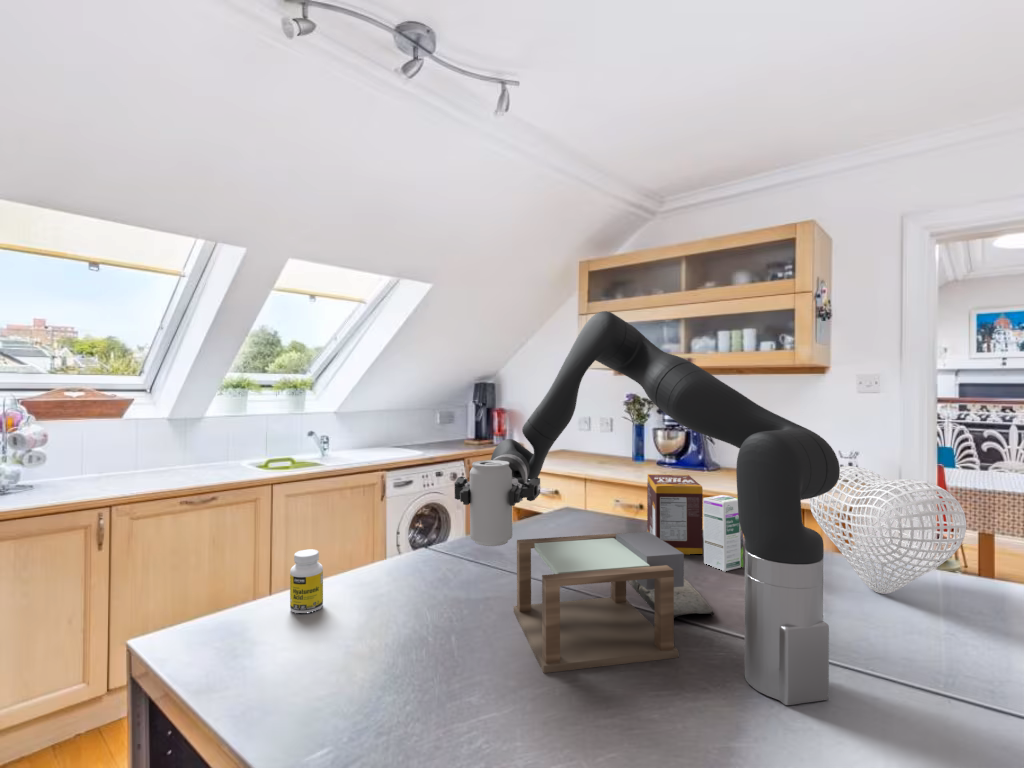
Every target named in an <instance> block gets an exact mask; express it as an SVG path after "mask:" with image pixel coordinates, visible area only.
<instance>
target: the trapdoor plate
mask: <svg viewBox="0 0 1024 768" xmlns="http://www.w3.org/2000/svg"><path fill="white" fill-rule="evenodd" d="M620 533H621V532H620ZM534 551H535V552H536V553H537V554H538V556H539V557H540V558H541V559H542V561H543V562H544V563H545V565H546V566H547V567H548V568H549V570H550V571H551V572H552V574H562V573H575V572H588V571H600V570H613V569H626V568H639V567H651V566H664V565H667V566H669V567H670V568H672V569H673V570H674V587H684V578H685V577H684V576H685V575H684V574H685V567H684V565H685V563H684V562H685V554H684V553H682V552H680V551H679V550H677V549H676V548H674V547H672V546H671V545H669V544H668V543H666V542H664V541H663V540H661V539H660V538H658V537H656V536H655V535H653V534H652V533H650V532H647V531H640V532H636V531H635V532H623V533H621V534H616V539H614V538H606V539H591V540H576V541H561V542H546V543H535V548H534ZM636 581H637V582H638V583H640V584H641V585H642V586H643V587H644V588H645V589H647V590H650V589H654V582H655V578H654V579H642V580H636Z"/></svg>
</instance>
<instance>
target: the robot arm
mask: <svg viewBox="0 0 1024 768" xmlns="http://www.w3.org/2000/svg"><path fill="white" fill-rule="evenodd" d="M595 361H596V362H597V363H600V364H602V365H603V366H605V367H607V368H609V369H610V370H613V371H616V372H618V373H620V374H622V375H624V376H625V377H627V378H628V379H631V380H633V381H634V382H636V383H637V384H638V385H640V387H642V389H643V391H644V392H645V394H646V396H647V398H649V400H650V401H651V402H652V404H654V405H655V406H656V407H657V408H658V409H659V410H661V411H662V412H663V413H664V414H666V415H667V416H668V417H670V418H671V419H672V420H674V421H675V422H677V423H678V424H680V426H681V425H682V426H683V427H685V428H687V429H689V430H691V431H694V432H697V433H699V434H702V435H704V436H707V437H709V438H712V439H714V440H715V439H716V440H718V441H721V442H724V443H726V444H729V445H731V446H733V447H735V448H737V449H738V454H737V457H736V470H735V472H736V474H735V475H736V493H737V495H736V496H737V497H736V498H738V516H739V523H740V527H741V529H742V532H743V539H744V679H745V681H746V682H747V684H748V685H750V686H751V687H752V688H753V689H754V690H756V691H757V692H759V693H760V694H763V695H765V696H767V697H770V698H773V699H775V700H778V701H780V702H781V703H782V704H783V705H785V706H791V705H799V704H806V703H814V702H820V701H827V700H829V698H830V697H829V695H830V694H829V691H830V690H829V687H830V686H829V683H830V682H829V681H830V674H829V673H830V671H829V670H830V669H829V667H830V664H829V663H830V626H829V624H828V623H827V622H825V621H824V557H825V556H824V553H825V552H824V550H825V549H824V540H823V537H822V535H821V534H820V533H819V532H817V531H816V530H814V529H812V528H810V527H807V526H805V525H804V523H803V517H802V504H801V503H802V501H803V500H809V499H810V498H813V497H817V496H819V497H821V495H822V494H823V495H824V493H826V492H828V491H830V490H832V488H833V487H834V486H836V485H837V481H838V480H840V475H839V474H840V467H841V466H840V461H839V459H838V457H837V454H836V453H835V451H834V449H833V448H832V446H831V445H830V444H829V443H828V442H827V440H825V439H824V438H823V437H822V436H820V434H818V433H816V432H814V431H813V430H811V429H808V428H807V427H804V426H802V425H800V424H797V423H796V422H793V421H791V420H789V419H787V418H785V417H783V416H781V415H778V414H776V413H774V412H773V411H770V410H768V409H767V408H765V407H763V406H761V405H759V404H758V403H756V402H754V401H753V400H751V399H750V398H748V397H747V396H745V395H744V394H743V393H741V392H739V391H738V390H736V389H735V388H733V387H731V386H729V385H728V384H726V383H725V382H723V381H721V380H720V379H719V378H717V377H715V376H714V375H713V374H711V373H710V372H708V371H707V370H705V369H703V368H702V367H700V366H698V365H697V364H695V363H693V362H691V361H689V360H687V359H685V358H683V357H681V356H677V355H675V354H672V353H669V352H665V351H663V350H662V349H660V348H659V347H658V346H656V345H655V344H654V343H653V342H651V341H650V340H649V339H648V338H647V337H646V336H645V335H644V334H643V333H642V332H641V331H639V330H638V329H637V328H636V327H634V326H633V325H632V324H630V323H628V322H627V321H625V320H624V319H623V318H621V317H620V316H618V315H616V314H615V313H613V312H610V311H606V310H604V311H600V312H599V311H598V312H597V313H596V314H594V315H592V316H591V317H590V318H589V319H588V320H587V321H586V323H585V324H584V326H583V327H582V329H581V330H580V332H579V334H578V336H577V337H576V339H575V341H574V343H573V345H572V346H571V348H570V350H569V353H568V354H567V356H566V358H565V359H564V361H563V363H562V365H561V367H560V369H559V371H558V373H557V375H556V376H555V379H554V381H553V383H552V385H551V386H550V388H549V389H548V391H547V392H546V394H545V396H544V397H543V399H542V400H541V401H540V403H539V404H538V406H537V407H536V408H535V409H534V411H533V412H532V413H531V414H530V416H529V418H528V419H527V420H526V422H524V424H523V426H522V435H523V437H525V439H526V440H527V441H528V443H529V444H530V446H531V447H532V448H533V453H532V451H530V450H528V449H527V448H526V447H525V446H523V445H522V444H521V443H520V442H518V441H517V440H514V439H512V438H507V439H504V440H502V441H501V442H499V443H498V444H497V446H496V447H495V448H494V450H493V452H492V453H491V458H490V460H500V461H507V462H509V467H510V469H511V470H512V489H511V490H510V491H509V505H510V506H512V507H515V505H516V504H519V503H521V502H522V501H524V499H526V500H527V501H528V502H533V501H535V500H536V499H537V498H538V497H539V495H540V494H541V478H540V477H539V476H540V473H541V472H542V469H543V465H544V463H545V460H546V458H547V456H548V454H549V451H550V450H551V448H552V446H553V445H554V444H555V442H556V441H557V440H558V438H559V437H560V436H561V434H562V433H563V432H564V430H566V428H567V426H568V425H569V423H570V422H571V420H572V418H573V416H574V413H575V411H576V408H577V400H578V395H579V390H580V385H581V382H582V380H583V378H584V376H585V375H586V372H587V371H588V369H589V368H590V367H591V366H592V365H593V363H594V362H595ZM828 493H829V492H828ZM454 499H455V500H457V501H458V500H459V501H460V503H462V504H463V505H464V506H468V505H469V506H470V480H469V481H468V478H467V477H466V476H462V475H461V476H459V477H457V478H456V480H455V482H454Z"/></svg>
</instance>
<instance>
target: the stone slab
mask: <svg viewBox="0 0 1024 768" xmlns="http://www.w3.org/2000/svg"><path fill="white" fill-rule="evenodd" d="M627 582H628V583H629V584H630V586H631V585H632V586H631V587H632V588H633V589H634V591H636V593H637V592H638V593H637V594H638V595H639V594H640V595H639V596H640V597H641V598H642V599H643V600H644V602H645V601H646V602H647V603H646V602H645V603H646V604H647V606H649V607H650V609H652V610H653V611H654V589H650V590H647V589H645V588H644V587H643V586H642V585H641V584H640V583H638V582H637V581H636V580H630V581H627ZM691 614H698V615H699V614H704V615H707V614H708V615H711V616H715V612H714V610H713V609H712V607H711V606H710V604H709V603H708V601H707V600H706V599H705V598H704V597H703V596H702V595H701V593H700V592H699V591H698V590H697V589H696V588H695V587H694V586H693V585H692V584H691V583H690V582H689V580H687V579H686V577H684V587H674V619H675V618H676V617H680V616H684V615H691Z"/></svg>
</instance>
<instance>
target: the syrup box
mask: <svg viewBox="0 0 1024 768" xmlns="http://www.w3.org/2000/svg"><path fill="white" fill-rule="evenodd" d="M703 563H704V565H706V564H707V565H706V566H708V565H710V566H712V567H711V568H713V567H714V568H713V569H715V568H717V569H716V570H718V569H720V570H719V571H721V570H722V572H723V573H726V571H727V572H728V571H732V570H737V569H741V567H742V568H744V534H743V532H742V529H741V527H740V523H739V516H738V497H736V496H732V495H724V494H720V495H715V496H709V497H703ZM710 566H709V567H710Z"/></svg>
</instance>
